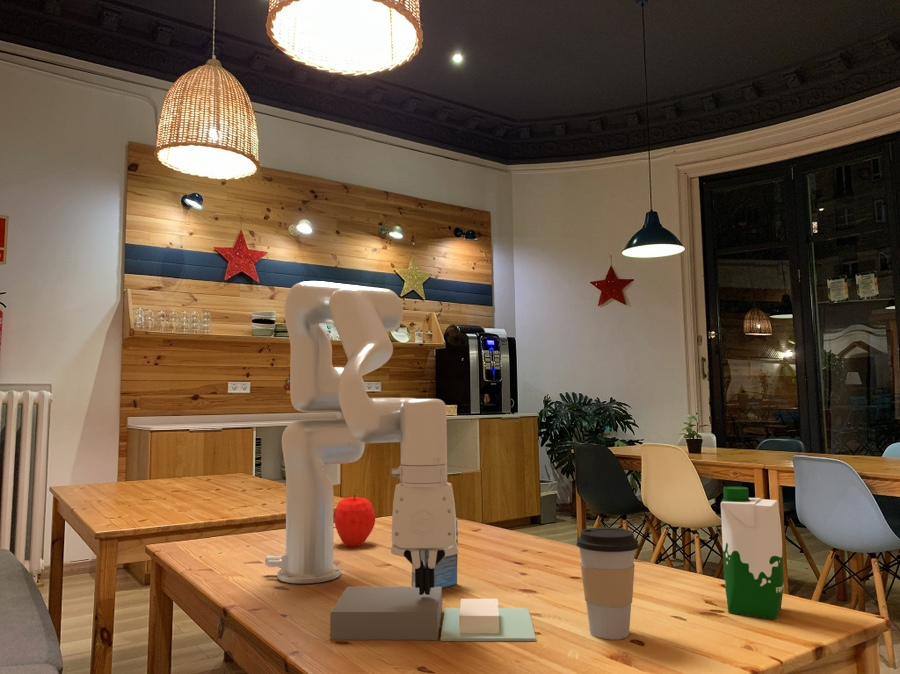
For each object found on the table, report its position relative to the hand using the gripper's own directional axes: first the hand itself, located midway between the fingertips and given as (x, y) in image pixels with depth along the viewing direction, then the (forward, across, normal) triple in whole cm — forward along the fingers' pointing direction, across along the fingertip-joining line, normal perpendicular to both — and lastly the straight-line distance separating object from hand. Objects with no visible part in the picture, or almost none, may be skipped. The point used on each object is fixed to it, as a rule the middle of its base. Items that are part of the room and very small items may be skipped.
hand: (425, 592), depth 110 cm
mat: (+5, +10, 0) cm, 11 cm away
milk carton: (+5, +54, +7) cm, 55 cm away
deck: (+5, -6, 0) cm, 8 cm away
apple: (+5, -22, +60) cm, 64 cm away
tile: (+2, +9, -1) cm, 9 cm away
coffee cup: (+5, +28, -4) cm, 29 cm away
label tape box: (+5, 0, +22) cm, 23 cm away
